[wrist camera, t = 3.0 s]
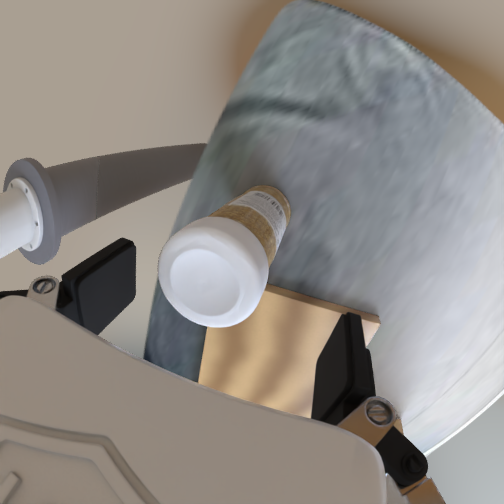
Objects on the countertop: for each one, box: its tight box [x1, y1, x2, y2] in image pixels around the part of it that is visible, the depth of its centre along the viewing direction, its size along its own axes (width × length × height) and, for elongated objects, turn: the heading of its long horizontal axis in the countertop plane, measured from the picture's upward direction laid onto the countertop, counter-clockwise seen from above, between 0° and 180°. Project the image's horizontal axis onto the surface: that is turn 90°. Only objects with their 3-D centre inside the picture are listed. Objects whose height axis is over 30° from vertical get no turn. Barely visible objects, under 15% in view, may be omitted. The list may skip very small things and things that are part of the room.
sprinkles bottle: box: [158, 185, 291, 327], centre depth 17 cm, size 5×5×13 cm
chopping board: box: [198, 284, 381, 419], centre depth 29 cm, size 16×22×2 cm
